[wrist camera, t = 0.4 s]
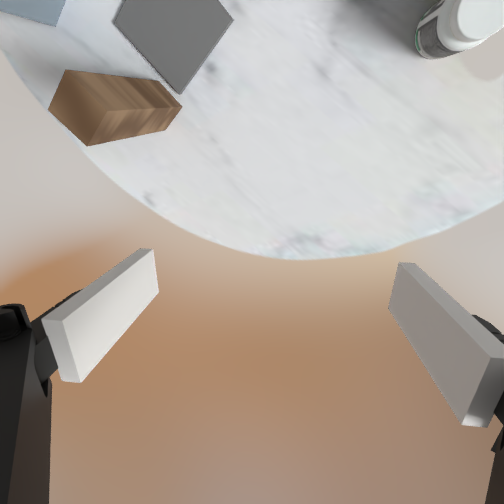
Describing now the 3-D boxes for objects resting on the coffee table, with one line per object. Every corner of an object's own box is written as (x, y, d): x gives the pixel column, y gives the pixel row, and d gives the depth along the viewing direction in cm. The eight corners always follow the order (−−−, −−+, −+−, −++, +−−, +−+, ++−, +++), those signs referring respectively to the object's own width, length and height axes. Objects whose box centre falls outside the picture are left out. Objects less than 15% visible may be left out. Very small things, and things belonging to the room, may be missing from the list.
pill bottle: (447, 66, 28) (495, 54, 21) (404, 52, 28) (436, 35, 21) (479, 8, 26) (546, -28, 18) (432, -8, 26) (479, -50, 18)
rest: (164, -69, 27) (161, -72, 27) (233, 20, 29) (232, 18, 29) (117, 24, 32) (114, 23, 31) (181, 94, 34) (178, 94, 34)
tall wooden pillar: (158, 81, 34) (65, 69, 21) (182, 107, 35) (107, 111, 22) (142, 106, 36) (47, 109, 23) (165, 130, 37) (86, 146, 24)
